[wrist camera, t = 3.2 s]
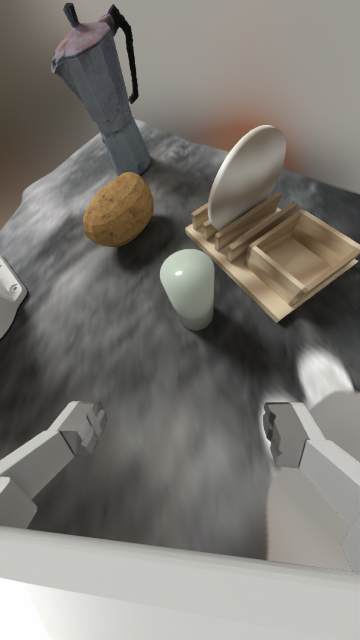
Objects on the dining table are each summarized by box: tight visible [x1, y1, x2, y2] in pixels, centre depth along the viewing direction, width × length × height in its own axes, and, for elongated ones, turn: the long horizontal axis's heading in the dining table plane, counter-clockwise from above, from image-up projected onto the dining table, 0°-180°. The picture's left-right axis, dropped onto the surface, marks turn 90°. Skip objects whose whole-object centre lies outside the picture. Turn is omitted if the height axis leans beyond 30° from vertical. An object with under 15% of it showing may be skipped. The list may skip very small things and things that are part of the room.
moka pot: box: [51, 3, 151, 176], centre depth 34 cm, size 10×15×20 cm, turn 139°
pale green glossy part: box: [160, 249, 214, 331], centre depth 22 cm, size 5×5×11 cm
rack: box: [185, 125, 360, 323], centre depth 23 cm, size 22×14×13 cm, turn 34°
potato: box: [83, 172, 154, 247], centre depth 32 cm, size 10×14×8 cm
